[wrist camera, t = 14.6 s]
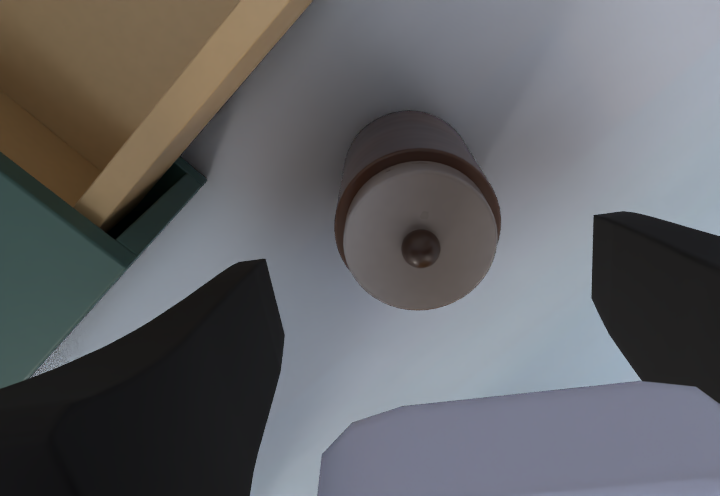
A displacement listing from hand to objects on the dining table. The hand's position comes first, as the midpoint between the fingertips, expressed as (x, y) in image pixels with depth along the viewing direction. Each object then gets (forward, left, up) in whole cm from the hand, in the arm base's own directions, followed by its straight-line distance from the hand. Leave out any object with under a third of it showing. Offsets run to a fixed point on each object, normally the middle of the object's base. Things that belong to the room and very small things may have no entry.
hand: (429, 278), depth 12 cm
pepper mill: (0, 0, -8) cm, 8 cm away
